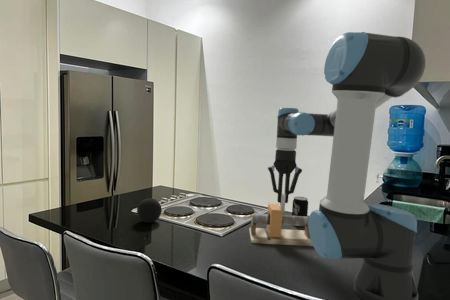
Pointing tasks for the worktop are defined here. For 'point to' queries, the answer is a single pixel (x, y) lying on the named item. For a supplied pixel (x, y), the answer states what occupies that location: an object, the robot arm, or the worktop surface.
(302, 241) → the pipe board
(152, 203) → the speaker
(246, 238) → the worktop surface
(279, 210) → the collar
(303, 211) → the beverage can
